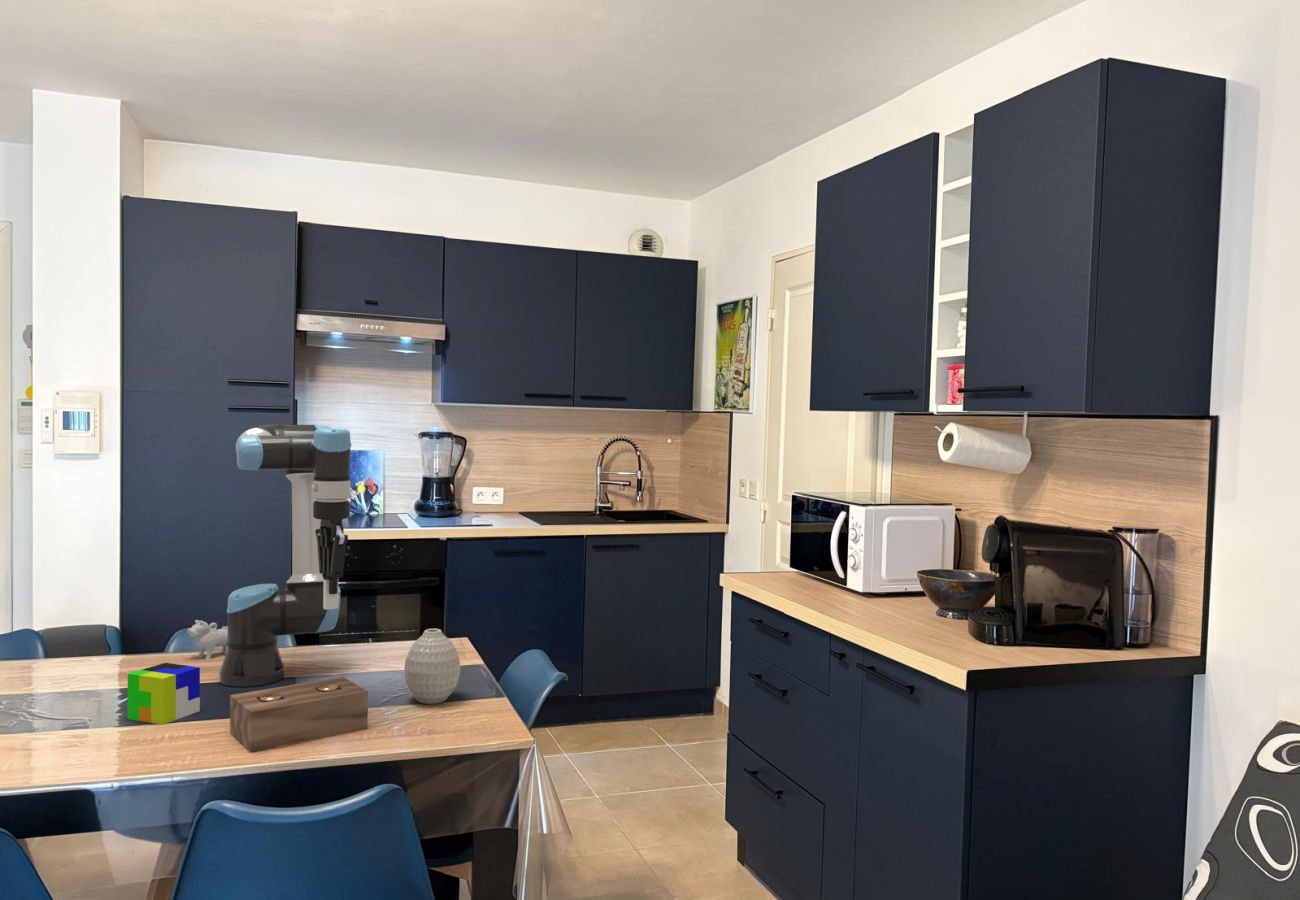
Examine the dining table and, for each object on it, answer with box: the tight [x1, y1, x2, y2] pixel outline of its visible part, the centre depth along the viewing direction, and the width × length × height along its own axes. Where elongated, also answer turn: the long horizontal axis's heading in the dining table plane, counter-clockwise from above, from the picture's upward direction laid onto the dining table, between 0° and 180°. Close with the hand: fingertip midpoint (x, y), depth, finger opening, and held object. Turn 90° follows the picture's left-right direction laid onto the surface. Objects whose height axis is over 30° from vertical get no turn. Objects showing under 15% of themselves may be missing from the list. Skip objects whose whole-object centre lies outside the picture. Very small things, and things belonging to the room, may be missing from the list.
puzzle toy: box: [127, 662, 201, 726], centre depth 204 cm, size 10×10×10 cm
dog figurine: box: [186, 619, 228, 661], centre depth 254 cm, size 5×13×11 cm, turn 145°
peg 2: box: [318, 684, 338, 693], centre depth 199 cm, size 4×4×8 cm
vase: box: [403, 628, 461, 705], centre depth 218 cm, size 13×13×17 cm
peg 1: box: [260, 694, 281, 703], centre depth 192 cm, size 4×4×8 cm
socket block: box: [229, 676, 369, 753], centre depth 196 cm, size 14×24×8 cm, turn 130°
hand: (330, 608), depth 201 cm, fingers closed
